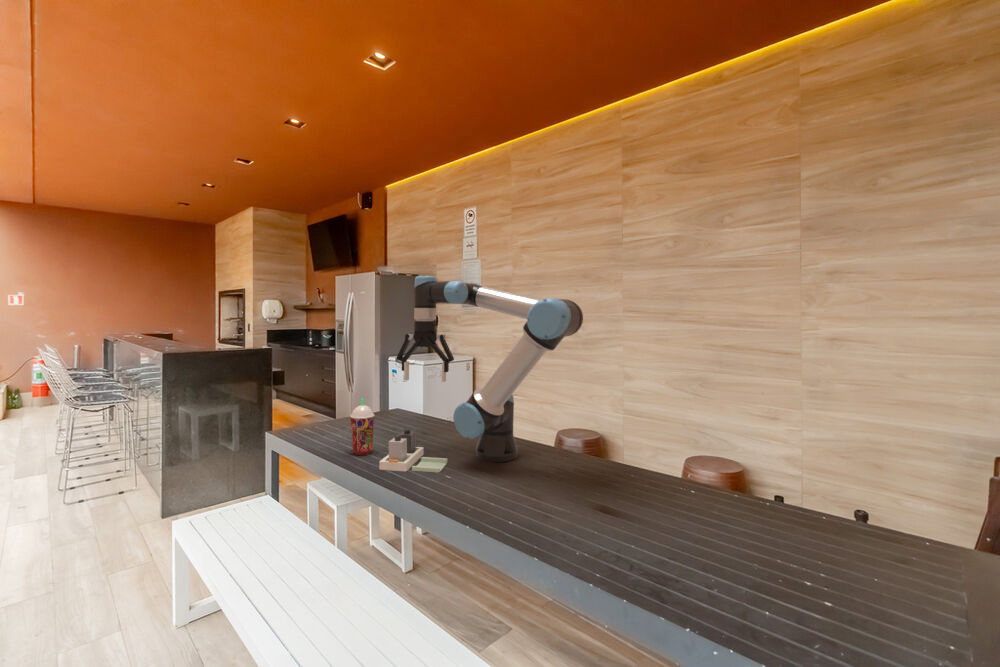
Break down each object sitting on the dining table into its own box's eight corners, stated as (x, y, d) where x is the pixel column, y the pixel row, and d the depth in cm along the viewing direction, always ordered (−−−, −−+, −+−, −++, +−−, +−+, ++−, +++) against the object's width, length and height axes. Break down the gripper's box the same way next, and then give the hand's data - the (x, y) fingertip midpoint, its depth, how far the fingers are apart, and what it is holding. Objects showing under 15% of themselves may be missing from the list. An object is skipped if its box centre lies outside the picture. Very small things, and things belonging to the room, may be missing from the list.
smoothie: (370, 456, 157) (370, 400, 156) (346, 456, 157) (346, 399, 156) (377, 449, 165) (377, 395, 164) (355, 449, 165) (354, 395, 164)
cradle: (447, 463, 151) (447, 458, 151) (439, 473, 141) (439, 468, 141) (422, 461, 152) (422, 456, 152) (411, 471, 143) (411, 466, 142)
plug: (406, 462, 148) (406, 434, 148) (401, 466, 144) (401, 437, 144) (394, 461, 149) (394, 433, 149) (388, 466, 145) (388, 437, 144)
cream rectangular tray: (423, 455, 159) (423, 426, 158) (406, 472, 142) (406, 439, 141) (399, 454, 160) (399, 425, 159) (379, 470, 143) (379, 438, 143)
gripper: (462, 320, 158) (462, 380, 159) (395, 319, 162) (395, 378, 163) (457, 321, 150) (456, 383, 152) (387, 320, 154) (387, 381, 155)
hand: (425, 380), depth 157 cm, fingers open, 13 cm apart
